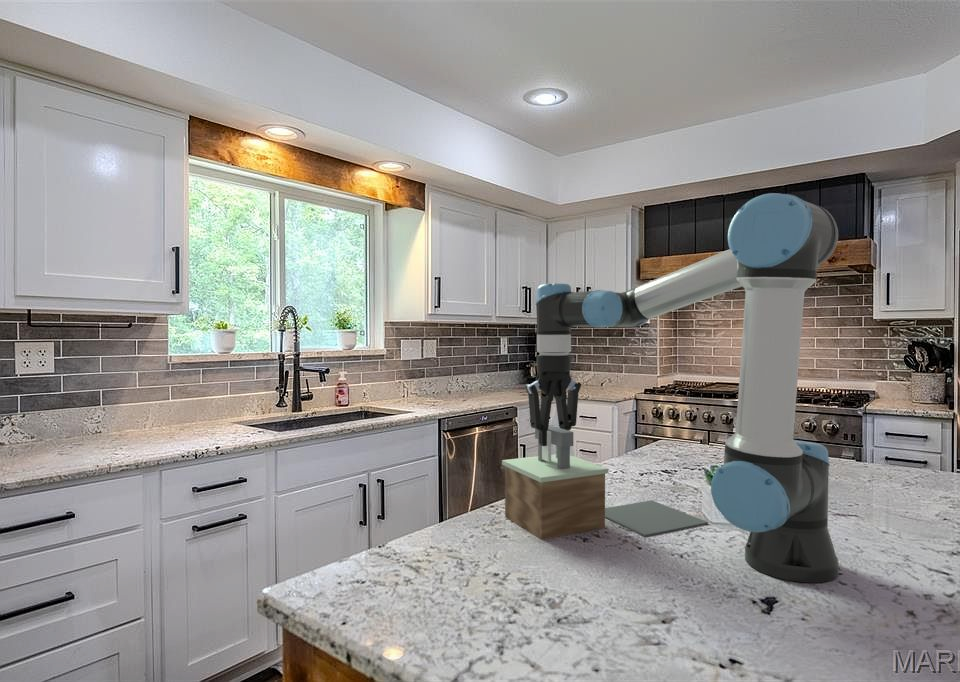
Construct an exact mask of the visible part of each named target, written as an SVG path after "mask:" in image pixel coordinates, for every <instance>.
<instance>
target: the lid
mask: <svg viewBox="0 0 960 682" xmlns="http://www.w3.org/2000/svg"><path fill="white" fill-rule="evenodd" d="M548 431H550V432H551V445H554V446H556V445H557V458H556V453H554V454H552V453H551V461H550V462H548V461H545V460H543V459H542V446H541V445H540V444H539V431H538V430H537V429H535V428H534V439H536V440H537V441H538V442H537V448H538V450H537V452H538V453H537V456H528V457H520V458H510V459H503V460H501V465H502V466H504V467H505V466H506V467H508V468H510V469H513V470H515V471H517V472H519V473H521V474H523V475H526V476H528V477H530V478H532V479H534V480H536V481H539V482H548V481H556V480H563V479H570V478H577V477H584V476H592V475H599V474H605V475H606V474H609V468H608V467H605V466H602V465H599V464H596V463H594V462H591V461H588V460H586V459H582V458H580V457H577V456H574V455H571V447H574V431H571V430H565V429H561V428H560V427H557V426H554V425H550V424H549V427H548Z"/></svg>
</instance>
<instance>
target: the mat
mask: <svg viewBox="0 0 960 682" xmlns="http://www.w3.org/2000/svg"><path fill="white" fill-rule="evenodd" d="M605 520H607V521H611V522H613V523H615V524H617V525H619V526H621V527H622V528H625V529H627V530H629V531H631V532H634V533H635V534H638V535H640V536H641V537H645V538H646V537H651V536H657V535H660V534H666V533H669V532H675V531H681V530H685V529H691V528H695V527H700V526H706V525H709V521H706V520H704V519H703V518H702V519H701V518H698V517H696V516H694V515H690V514H689V513H686V512H684V511H681V510H678V509H675V508H674V507H673V508H672V507H670V506H669V505H665V504H662V503H660V502H657V501H656V500H646V501H640V502H634V503H627V504H622V505H616V506H612V507H611V506H610V507H605Z"/></svg>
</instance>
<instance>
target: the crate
mask: <svg viewBox="0 0 960 682" xmlns="http://www.w3.org/2000/svg"><path fill="white" fill-rule="evenodd" d="M605 508H606V474H599V475H592V476H584V477H577V478H570V479H563V480H556V481H548V482H539V481H536V480H534V479H532V478H530V477H528V476H526V475H523V474H521V473H519V472H517V471H515V470H513V469H510V468H508V467H506V466H504V517H505V518H506V519H508V520H510V521H511V522H513V523H514V524H516V525H517V526H520V527H521V528H523V529H524V530H525V531H527V532H529V533H530V534H532V535H534V536H535V537H537V538H538V539H540V540H548V539H553V538H558V537H563V536H568V535H573V534H579V533H580V534H581V533H584V532H591V531H595V530H600V529H605V528H606V518H605Z"/></svg>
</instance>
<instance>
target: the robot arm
mask: <svg viewBox="0 0 960 682" xmlns="http://www.w3.org/2000/svg"><path fill="white" fill-rule="evenodd" d="M838 241H839V228H838V226H837V222H836V221H835V218H834V217H833V215H832V214H831V213H830V212H829V211H828V210H827V209H825V207H822V206H821V205H818V204H815V203H813V202H812V203H811V202H809V201H805V200H803V199H802V198H800V197H798V196H796V195H793V194H790V193H780V192H779V193H776V192H775V193H774V192H772V193H771V192H770V193H764V194H761V195H758V196H756V197H753V198H751V199H750V200H748V201H747V202H746V203H744V204H743V205H742V206H741V207H740V208H739V209H738V210H737V211H736V213H735V214H734V216H733V217H732V218H731V221H730V223H729V226H728V230H727V243H728V248H729V249H727V250H724V251H721V252H719V253H716V254H714V255H711V256H709V257H707V258H705V259H701V260H700V261H697V262H694V263H692V264H690V265H687V266H685V267H682V268H679V269H678V270H675V271H672V272H670V273H667V274H665V275H663V276H660V277H658V278H655V279H653V280H650V281H648V282H646V283H643V284H641V285H638V286H637V287H633V288H631V289H628V290H626V291H622V292H615V291H613V290H604V289H602V290H601V289H598V290H597V289H596V290H591V291H589V290H588V291H587V290H586V291H577V292H575V291H574V292H573V291H572V288H571V285H570V284H568V283H561V282H560V283H542V284H540V285H538V287H537V290H536V302H535V306H536V352H537V353H539V354H537V356H536V371H537V375H536V377H535V381H533V382H532V383H530V384H529V383H526V384H525V387H524V388H525V390H526V392H527V396H528V404H529V405H528V407H529V419H530V420H529V422H530V427H531V428H532V429H534V430H535V429H537V430H538V431H539V444H540V445H541V446H542V459H543V460H545V461H548V462H550V461H551V455H552V444H551V432H550V431H548V427H549V425H550V417H551V411H552V409H551V408H552V404H553V401H554V400H555V406H556V412H557V413H556V414H557V420H558V426H559V427H558V428H561V429H565V430H568V431H571V430H572V427H575V426H576V425H577V417H578V416H577V415H578V406H579V405H578V403H579V393H580V390H581V387H582V383H581V382H578V381H575V380H573V379H572V376H571V374H570V372H571V370H572V365H571V364H572V362H571V361H572V359H571V358H572V356H571V355H570V354H569V353H571V352H572V332H571V331H572V328H595V329H600V328H601V329H604V328H605V329H606V328H613V327H614V328H635V327H640V326H643V325H645V324H646V323H648V321H649V320H650V319H653V318H657V317H659V316H661V315H664V314H667V313H670V312H673V311H676V310H679V309H682V308H685V307H687V306H689V305H693V304H695V303H699V302H701V301H705V300H707V299H709V298H712V297H715V296H719V295H721V294H725V293H726V292H730V291H732V290H736V289H739V288H741V287H742V288H744V291H745V296H744V297H745V298H744V311H743V323H742V324H743V326H742V339H741V355H740V364H739V365H740V366H739V379H738V380H739V382H738V396H737V409H736V425H735V432H734V433H733V434H732V435H731V436H729V437H728V438H727V439H726V440H725V443H724V452H723V453H724V455H723V464H722V465H721V466H720V467H718V469H717V470H716V471H715V473H714V474H713V475H712V478H711V482H710V483H711V484H710V493H711V498H712V500H713V503H714V506H715V507H716V509H717V510H718V511H719V512H720V513H721V515H722V516H723V518H724V519H725V520H726V521H727V522H729V523H730V524H732V525H733V526H734V527H737V528H739V529H741V530H743V531H746V532H749V536H748V539H747V541H746V543H745V547H744V560H745V562H746V563H747V564H748V565H749V566H750V567H751V568H753V570H754V569H755V570H757V571H758V572H760V573H763V574H765V575H768V576H771V577H774V578H777V579H778V578H779V579H781V580H785V581H786V580H787V581H791V582H797V583H798V582H800V583H813V584H814V583H825V582H830V581H832V580H834V579H836V578H837V577H838V576H839V564H840V563H839V559H838V557H837V555H836V554H837V553H836V551H835V548H834V544H833V540H832V538H831V535H830V532H829V528H828V527H829V526H828V525H829V521H828V520H829V519H828V518H829V517H828V514H829V473H830V469H829V467H830V465H831V461H830V460H829V451H828V449H827V447H826V446H825V445H823V444H821V443H817V442H812V441H804V440H797V439H794V433H795V431H794V430H795V422H796V421H795V419H796V409H797V408H796V405H797V394H798V380H799V378H798V377H799V368H800V367H799V365H800V354H801V353H800V352H801V341H802V329H803V328H802V327H803V317H804V316H803V314H804V303H805V302H804V301H805V292H806V291H807V289H809V288H810V287H811V286H812V285H814V284H815V283H816V282H817V277H818V275H817V274H818V267H820V266H821V265H822V264H824V263H825V262H826V261H827V260H828V259H830V257H831V256H832V254H833V253H834V251H835V249H836V247H837V245H838ZM567 389H568V390H567ZM539 391H540V395H539ZM540 400H541V401H540ZM555 454H556V458H557V445H555Z"/></svg>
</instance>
